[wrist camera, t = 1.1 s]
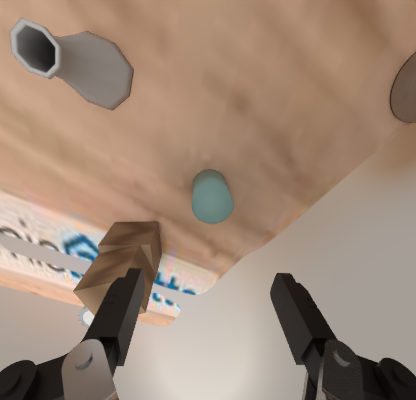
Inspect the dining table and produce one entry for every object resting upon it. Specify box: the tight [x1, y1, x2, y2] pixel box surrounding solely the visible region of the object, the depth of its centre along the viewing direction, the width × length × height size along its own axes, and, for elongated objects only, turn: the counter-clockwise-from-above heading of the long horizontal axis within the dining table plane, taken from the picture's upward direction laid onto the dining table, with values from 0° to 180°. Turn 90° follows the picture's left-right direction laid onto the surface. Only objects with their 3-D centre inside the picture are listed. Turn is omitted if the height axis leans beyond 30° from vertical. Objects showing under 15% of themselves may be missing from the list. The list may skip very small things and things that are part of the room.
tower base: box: [98, 222, 162, 280], centre depth 30 cm, size 7×7×6 cm
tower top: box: [73, 244, 155, 316], centre depth 24 cm, size 6×6×6 cm
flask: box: [10, 18, 133, 110], centre depth 17 cm, size 7×7×10 cm
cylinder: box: [192, 169, 233, 224], centre depth 25 cm, size 5×5×7 cm
